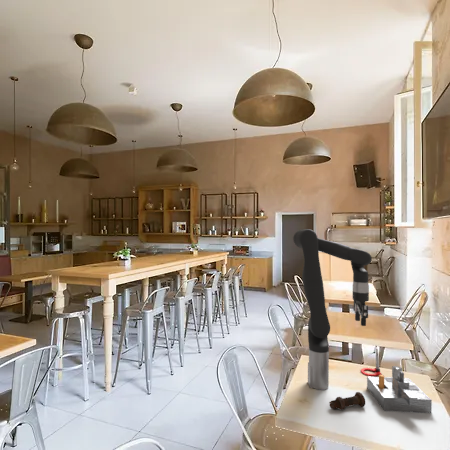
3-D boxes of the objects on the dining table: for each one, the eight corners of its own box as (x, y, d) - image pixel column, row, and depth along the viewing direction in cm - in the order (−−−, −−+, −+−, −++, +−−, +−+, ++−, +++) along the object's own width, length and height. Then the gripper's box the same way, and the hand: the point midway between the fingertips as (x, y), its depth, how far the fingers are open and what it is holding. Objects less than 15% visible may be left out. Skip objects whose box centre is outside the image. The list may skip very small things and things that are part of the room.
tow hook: (364, 377, 166) (383, 377, 165) (363, 352, 166) (381, 351, 165) (358, 370, 174) (376, 369, 173) (357, 346, 174) (375, 345, 174)
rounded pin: (385, 399, 143) (385, 377, 143) (380, 399, 143) (380, 377, 143) (382, 397, 145) (383, 374, 146) (377, 397, 146) (378, 374, 146)
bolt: (330, 413, 136) (360, 407, 140) (336, 413, 132) (367, 406, 136) (325, 397, 139) (355, 392, 143) (331, 397, 134) (362, 391, 139)
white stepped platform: (388, 417, 130) (389, 382, 130) (367, 387, 154) (367, 358, 154) (438, 420, 128) (438, 384, 128) (408, 389, 152) (409, 359, 152)
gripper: (373, 293, 155) (373, 327, 155) (363, 288, 169) (363, 319, 169) (357, 293, 155) (357, 327, 155) (348, 287, 170) (348, 318, 170)
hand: (360, 323), depth 162 cm, fingers open, 8 cm apart
